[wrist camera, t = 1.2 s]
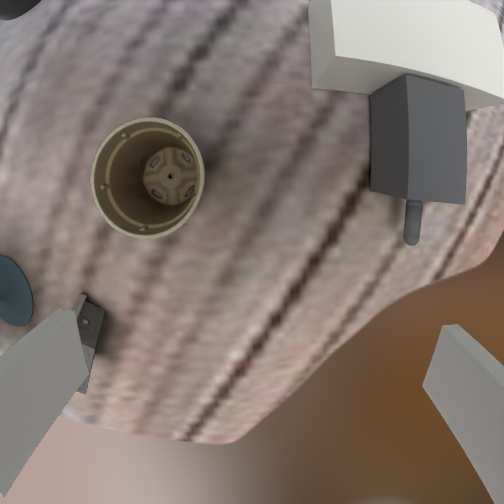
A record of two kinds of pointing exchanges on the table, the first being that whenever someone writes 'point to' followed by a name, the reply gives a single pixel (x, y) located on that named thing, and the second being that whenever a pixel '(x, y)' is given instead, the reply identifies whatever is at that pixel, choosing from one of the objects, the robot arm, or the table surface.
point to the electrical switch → (88, 331)
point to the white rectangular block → (407, 46)
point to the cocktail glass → (14, 294)
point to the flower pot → (147, 178)
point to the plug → (418, 146)
